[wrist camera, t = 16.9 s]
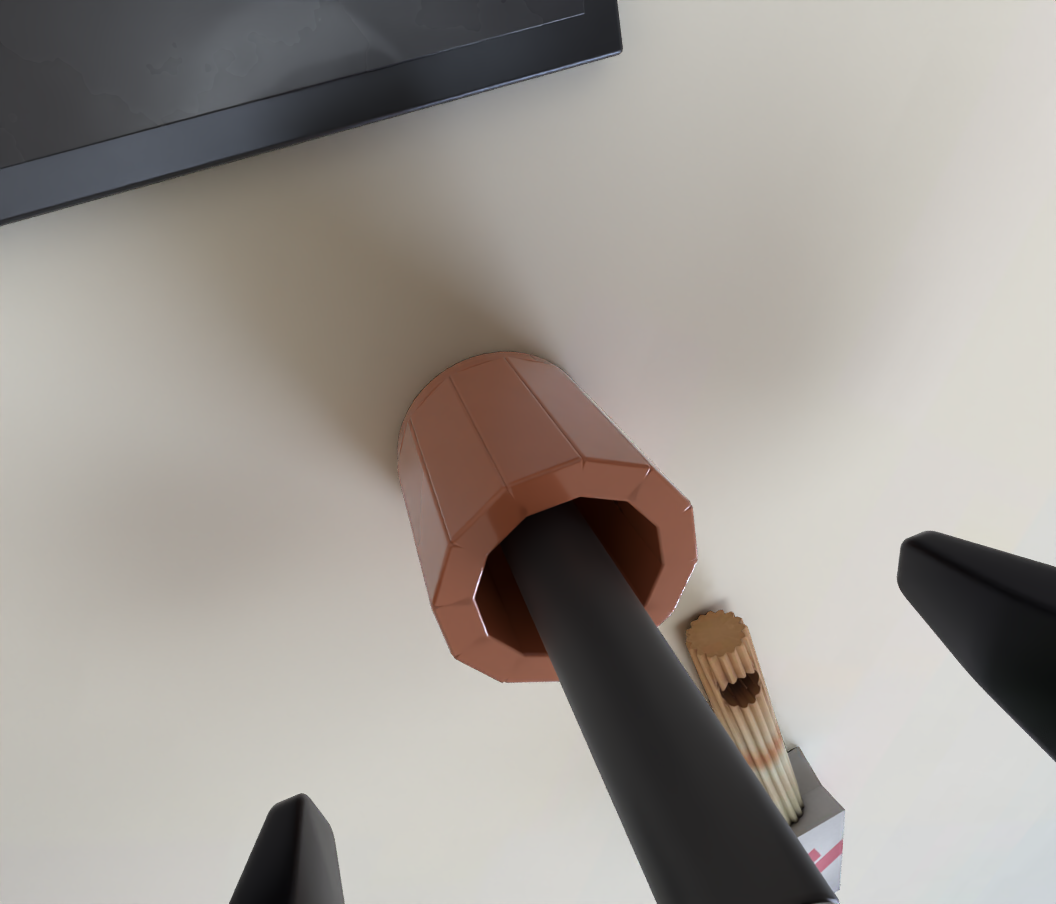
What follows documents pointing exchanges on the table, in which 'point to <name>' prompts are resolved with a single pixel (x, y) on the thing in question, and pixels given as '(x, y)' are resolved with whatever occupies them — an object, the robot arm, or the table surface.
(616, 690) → the stylus
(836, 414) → the table surface
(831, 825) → the paintbrush
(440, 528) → the pen cup
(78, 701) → the table surface
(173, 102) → the tablet
